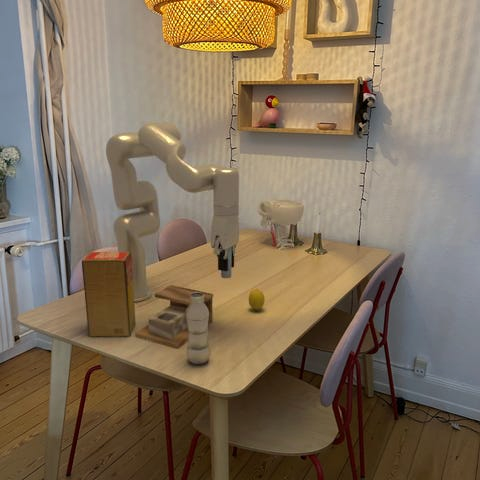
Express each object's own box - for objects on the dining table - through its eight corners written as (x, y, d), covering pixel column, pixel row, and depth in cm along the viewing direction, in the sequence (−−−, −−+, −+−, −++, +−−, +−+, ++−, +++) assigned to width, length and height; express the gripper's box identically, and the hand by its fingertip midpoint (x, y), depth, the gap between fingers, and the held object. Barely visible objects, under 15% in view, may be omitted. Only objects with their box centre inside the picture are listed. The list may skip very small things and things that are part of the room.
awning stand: (171, 311, 159) (170, 285, 157) (213, 322, 152) (213, 294, 149) (134, 336, 142) (132, 306, 140) (179, 348, 135) (178, 317, 132)
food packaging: (136, 323, 151) (132, 250, 144) (130, 337, 142) (125, 260, 135) (95, 323, 151) (89, 250, 144) (87, 337, 141) (79, 260, 135)
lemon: (254, 305, 165) (255, 284, 163) (267, 309, 162) (267, 288, 159) (245, 310, 161) (245, 289, 159) (257, 315, 157) (258, 293, 155)
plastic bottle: (198, 370, 124) (196, 301, 119) (181, 361, 129) (179, 294, 123) (215, 360, 129) (214, 294, 123) (198, 352, 133) (197, 288, 128)
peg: (219, 277, 141) (219, 239, 138) (224, 274, 144) (224, 237, 140) (228, 279, 140) (228, 241, 136) (233, 275, 142) (233, 238, 139)
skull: (307, 245, 237) (310, 202, 231) (293, 255, 222) (295, 208, 215) (264, 238, 249) (265, 197, 243) (248, 247, 233) (248, 203, 227)
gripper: (228, 203, 144) (228, 259, 150) (200, 214, 130) (201, 274, 136) (249, 206, 141) (248, 262, 146) (223, 217, 127) (223, 279, 132)
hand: (226, 268), depth 141 cm, fingers closed on peg, 3 cm apart
